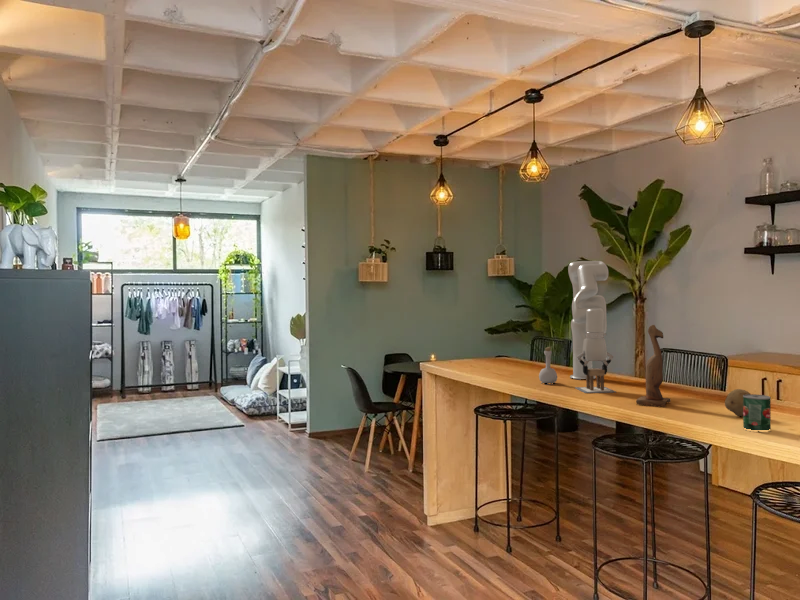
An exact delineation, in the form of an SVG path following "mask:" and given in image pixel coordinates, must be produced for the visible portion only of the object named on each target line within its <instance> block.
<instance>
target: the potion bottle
mask: <svg viewBox="0 0 800 600" xmlns="http://www.w3.org/2000/svg"><path fill="white" fill-rule="evenodd" d="M551 347H552V346H548V347H545V350H544V351H543V353H544V355H545V367H544V368H541V370H540V371H539V374H538V378H539V381H540V382H541V384H542V383H547V384H546V385H549V384H548V383H551V384H550V385H553V384H552V383H555V384H556V382H557V380H558V374H557V372H556V370H555V368H552V367H551V356H552V352H553V351H552V350H551Z"/></svg>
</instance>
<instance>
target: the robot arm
mask: <svg viewBox="0 0 800 600" xmlns="http://www.w3.org/2000/svg"><path fill="white" fill-rule="evenodd" d="M567 267H568V268H567V270H568V276H569V280H570V282H571V284H572V292H573V293H572V297H573V298H572V303H571V314H572V319H571V321H570V328H571V333H572V334H571V335H572V370H573V371H572V373H573V374H571V375H569V378H570V379H572V378H573V380H581V379H586V375H588V369H593V362H601V363H602V366H601V367H602V368H601V369H602V370H605V375H607V373H608V365H609V364H610V363H611V361H612V360H613V359H614V356H613V355H612V354H610V353H609V352H608V351H607V350H608V349H607V343H606V339H605V337H607V333H606V332H607V329H608V326H607V325H608V323H607V303H606V298H605V297H604V296H603V295H599V294H598V292H599V288H598V282H599V281H600V282H602V281H603V282H605V281H607V280H608V278H609V268H608V266H607V264H606V263H605V262H603V261H602V260H578V261H573V262H570V263H569V264H568V266H567ZM597 294H598V295H597ZM595 379H597V376H594V380H595Z"/></svg>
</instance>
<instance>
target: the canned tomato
mask: <svg viewBox="0 0 800 600" xmlns="http://www.w3.org/2000/svg"><path fill="white" fill-rule="evenodd" d="M771 403H772V402H771V396H769V395H764V394H754V393H752V394H751V393H750V394H747V395H743V417H742V419H743V422H742V423H743V424H742V425H743V426H742V427H744V428H746V429H751V430H769V429H771V427H772V426H771V418H772V417H771V405H772V404H771ZM771 430H772V429H771Z"/></svg>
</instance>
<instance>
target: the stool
mask: <svg viewBox="0 0 800 600" xmlns="http://www.w3.org/2000/svg"><path fill="white" fill-rule="evenodd" d="M594 376H596V387H597V388H598V389H599V388H600V387H601V390H604V387H605V370H602V368H592V369H588V375H586V380H585V381H586V386H585V387H586V388H587V389H590V390H594V387H595V384H594V382H595V381H594V380H595V379H594Z"/></svg>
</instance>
